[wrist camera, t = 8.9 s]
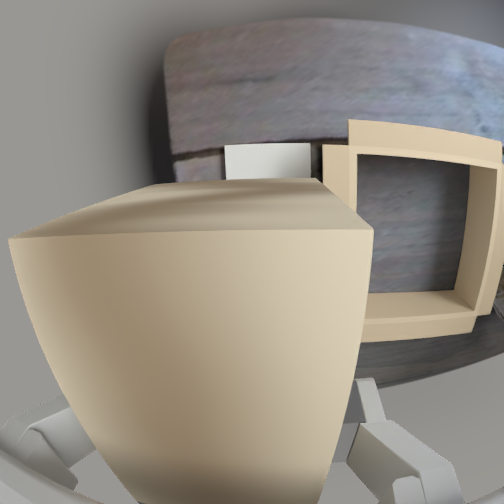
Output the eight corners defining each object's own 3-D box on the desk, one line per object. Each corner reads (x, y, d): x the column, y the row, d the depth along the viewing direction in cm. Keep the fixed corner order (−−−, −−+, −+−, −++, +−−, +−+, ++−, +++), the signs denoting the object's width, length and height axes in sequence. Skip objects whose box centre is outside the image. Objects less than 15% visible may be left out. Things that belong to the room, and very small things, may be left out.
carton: (487, 143, 23) (515, 145, 18) (465, 308, 29) (484, 330, 24) (315, 124, 25) (322, 118, 20) (313, 316, 31) (316, 343, 26)
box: (315, 177, 9) (374, 229, 3) (301, 430, 12) (300, 544, 6) (153, 184, 9) (7, 238, 3) (196, 424, 13) (163, 529, 7)
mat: (309, 143, 26) (310, 143, 25) (309, 283, 30) (309, 286, 29) (225, 145, 26) (224, 145, 26) (233, 283, 31) (232, 285, 30)
